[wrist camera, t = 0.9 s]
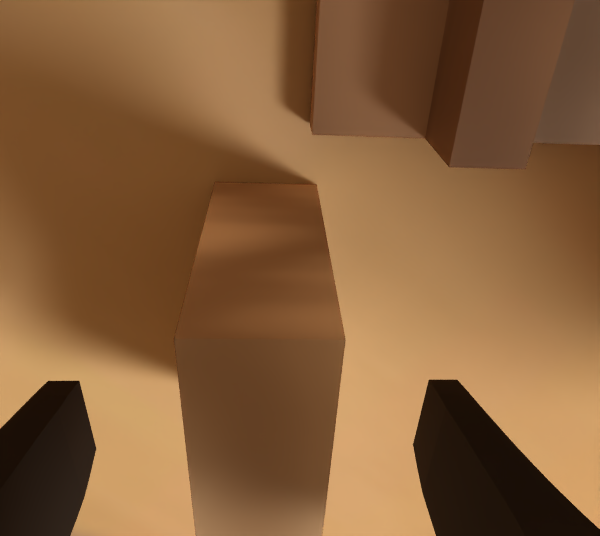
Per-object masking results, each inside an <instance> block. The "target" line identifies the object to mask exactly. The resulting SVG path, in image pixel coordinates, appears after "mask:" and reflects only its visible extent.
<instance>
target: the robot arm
mask: <svg viewBox="0 0 600 536" xmlns="http://www.w3.org/2000/svg"><path fill="white" fill-rule="evenodd" d="M413 447H414V452H415V457H416V463H417V468H418V473H419V478H420V483H421V488H422V492H423V496H424V499H425V502H426V505H427V508H428V512H429V515H430V518H431V521H432V524H433V527H434V531H435V534H436V536H600V529H599V528H598V527H596V526H595V525H594V524H593V523H592V522H591V521H590V520H589V519H588V518H587V517H586V516H584V515H583V514H582V513H581V512H580V511H579V510H578V509H577V508H576V507H575V506H574V505H573V504H572V503H571V502H570V501H569V500H568V499H567V498H566V497H565V496H564V495H563V494H562V493H561V492H560V491H559V490H558V489H557V488H556V487H555V486H554V485H553V484H552V483H551V482H550V481H549V480H548V479H547V478H546V477H545V476H544V475H543V474H542V473H541V472H540V471H539V470H538V469H537V468H536V467H535V466H534V465H533V464H532V463H531V462H530V460H529V459H528V458H527V457H526V456H525V455H524V454H523V453H522V452H521V451H520V450H519V449H518V448H517V447H516V446H515V444H514V443H513V442H512V441H511V440H510V439H509V438H508V437H507V436H506V435H505V433H504V432H503V431H502V430H501V429H500V428H499V427H498V426H497V424H496V423H495V422H494V421H493V420H492V419H491V418H490V416H489V415H488V414H487V413H486V412H485V411H484V410H483V408H482V407H481V406H480V405H479V404H478V403H477V402H476V400H475V399H474V398H473V397H472V396H471V395H470V394H469V392H468V391H467V390H466V389H465V388H464V387H463V386H462V385H461V383H460V382H459V381H458V380H429V382H428V386H427V390H426V394H425V398H424V402H423V406H422V410H421V415H420V419H419V423H418V427H417V431H416V435H415V439H414V443H413ZM95 451H96V446H95V442H94V438H93V434H92V430H91V426H90V422H89V418H88V414H87V410H86V406H85V402H84V398H83V394H82V390H81V386H80V382H79V381H48V382H47V383H46V384H45V385H43V386H42V387H41V388H40V389H39V390H38V391H37V392H36V393H35V394H34V395H33V396H32V397H31V398H30V399H29V400H28V401H27V402H26V403H25V404H24V405H23V406H22V407H21V408H20V409H19V410H18V411H17V412H16V413H15V414H14V415H13V417H12V418H11V419H10V420H9V421H8V422H7V423H6V424H5V425H4V426H3V427H2V428H1V429H0V536H70V535H71V532H72V530H73V527H74V524H75V522H76V519H77V516H78V513H79V511H80V508H81V505H82V502H83V500H84V496H85V492H86V489H87V485H88V481H89V477H90V473H91V469H92V464H93V460H94V456H95Z"/></svg>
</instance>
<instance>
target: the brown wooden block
mask: <svg viewBox="0 0 600 536" xmlns="http://www.w3.org/2000/svg"><path fill="white" fill-rule="evenodd" d="M174 344H175V353H176V362H177V371H178V380H179V389H180V398H181V407H182V416H183V425H184V434H185V443H186V452H187V461H188V470H189V479H190V488H191V498H192V507H193V516H194V525H195V534H196V536H322V534H323V525H324V517H325V508H326V500H327V491H328V483H329V474H330V466H331V458H332V449H333V441H334V432H335V424H336V415H337V407H338V398H339V390H340V381H341V373H342V365H343V356H344V348H345V335H344V329H343V324H342V318H341V313H340V308H339V302H338V297H337V292H336V286H335V281H334V275H333V270H332V265H331V259H330V254H329V248H328V243H327V238H326V232H325V227H324V222H323V216H322V211H321V205H320V200H319V195H318V189H317V185H313V184H272V183H232V182H215V184H214V188H213V192H212V195H211V199H210V203H209V207H208V211H207V214H206V218H205V222H204V226H203V230H202V234H201V237H200V241H199V245H198V249H197V253H196V256H195V260H194V264H193V268H192V272H191V275H190V279H189V283H188V287H187V291H186V294H185V298H184V302H183V306H182V310H181V313H180V317H179V321H178V325H177V329H176V332H175V336H174Z"/></svg>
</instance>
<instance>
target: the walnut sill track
mask: <svg viewBox="0 0 600 536" xmlns="http://www.w3.org/2000/svg"><path fill="white" fill-rule="evenodd" d="M310 126H311V131H312V135H337V136H369V137H402V138H425V139H426V140H427V141H428V142H429V144H430V145H431V146H432V147H433V148H434V149H435V151H436V152H437V153H438V154H439V155H440V157H441V158H442V159H443V160H444V161H445V163H446V164H447V165H448V166H449V167H464V168H500V169H526V166H527V163H528V159H529V156H530V152H531V149H532V146H533V143H552V144H584V145H600V0H317V8H316V26H315V44H314V62H313V80H312V98H311V116H310Z"/></svg>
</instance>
